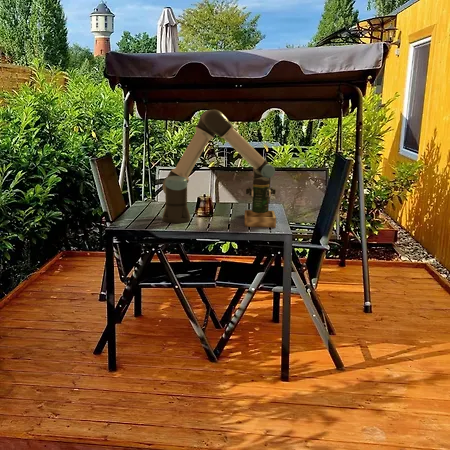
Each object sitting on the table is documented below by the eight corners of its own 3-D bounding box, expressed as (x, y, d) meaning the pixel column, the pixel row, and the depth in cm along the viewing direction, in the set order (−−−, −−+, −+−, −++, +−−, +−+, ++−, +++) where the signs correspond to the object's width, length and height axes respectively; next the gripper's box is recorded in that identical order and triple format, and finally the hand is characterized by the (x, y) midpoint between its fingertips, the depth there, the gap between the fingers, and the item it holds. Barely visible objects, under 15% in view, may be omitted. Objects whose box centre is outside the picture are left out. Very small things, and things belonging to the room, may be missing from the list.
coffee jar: (264, 214, 244) (265, 178, 240) (250, 212, 247) (250, 177, 243) (270, 211, 252) (271, 176, 248) (257, 209, 256) (257, 175, 252)
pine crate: (244, 226, 241) (244, 217, 240) (244, 218, 261) (244, 210, 260) (275, 227, 241) (276, 217, 240) (273, 219, 260) (273, 210, 259)
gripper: (278, 194, 265) (281, 201, 243) (241, 194, 266) (240, 200, 244) (278, 181, 264) (281, 186, 241) (241, 181, 264) (240, 186, 242)
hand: (261, 193), depth 243 cm, fingers closed on coffee jar, 8 cm apart
